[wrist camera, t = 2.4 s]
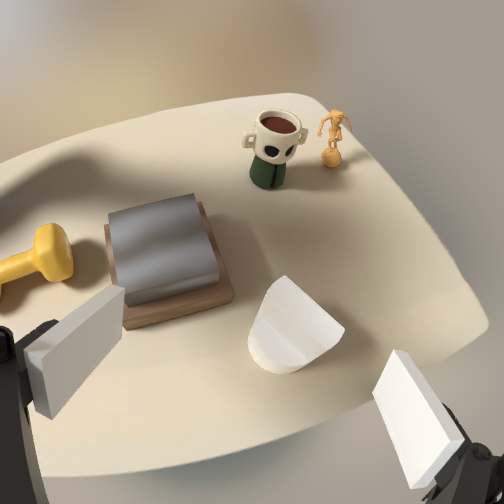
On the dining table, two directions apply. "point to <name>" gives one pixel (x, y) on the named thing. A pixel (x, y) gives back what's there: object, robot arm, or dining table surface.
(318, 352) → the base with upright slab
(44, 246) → the dumbbell
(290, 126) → the character mug
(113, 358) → the dining table surface
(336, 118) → the figurine
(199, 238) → the grey and brown block
